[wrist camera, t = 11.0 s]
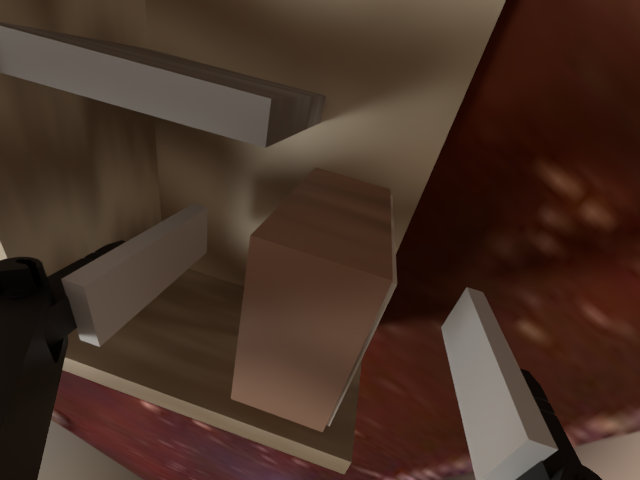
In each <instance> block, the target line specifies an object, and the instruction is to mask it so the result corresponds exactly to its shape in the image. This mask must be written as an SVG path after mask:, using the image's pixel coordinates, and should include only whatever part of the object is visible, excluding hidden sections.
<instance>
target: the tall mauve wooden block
mask: <svg viewBox="0 0 640 480" xmlns="http://www.w3.org/2000/svg"><path fill="white" fill-rule="evenodd" d="M396 286H397V271H396V251H395V230H394V210H393V195H390V189H387V188H384V187H381V186H377V185H374V184H370V183H367V182H364V181H360V180H357V179H353V178H350V177H347V176H343V175H340V174H336V173H333V172H330V171H326V170H323V169H319V168H315V169H314V170H313V171H312V172H311V173H310V174H309V175H308V176H307V177H306V178H305V179H304V180H303V181H302V182H301V183H300V184H299V185H298V186H297V187H296V188H295V189H294V190H293V191H292V193H291V194H290V195H289V196H288V197H287V198H286V199H285V200H284V201H283V202H282V203H281V204H280V205H279V206H278V207H277V208H276V209H275V210H274V211H273V212H272V213H271V214H270V215H269V216H268V217H267V219H266V220H265V221H264V222H263V223H262V224H261V225H260V226H259V227H258V228H257V229H256V230H255V231H254V232H253V233H252V234H251V235H250V242H249V250H248V259H247V267H246V275H245V284H244V292H243V301H242V309H241V317H240V326H239V334H238V342H237V351H236V359H235V368H234V376H233V384H232V393H231V399H233V400H235V401H238V402H241V403H244V404H246V405H249V406H252V407H255V408H257V409H260V410H263V411H266V412H268V413H271V414H274V415H276V416H279V417H282V418H285V419H287V420H290V421H293V422H296V423H298V424H301V425H304V426H307V427H309V428H312V429H315V430H317V431H320V432H323V431H324V428H325V426H326V425H327V426H329V427H330V424H331V422H332V420H333V418H334V416H335V414H336V412H337V410H338V408H339V406H340V403H341V401H342V399H343V397H344V395H345V393H346V391H347V389H348V387H349V385H350V382H351V380H352V378H353V376H354V374H355V372H356V370H357V368H358V366H359V364H360V361H361V359H362V357H363V355H364V353H365V351H366V349H367V347H368V345H369V343H370V340H371V338H372V336H373V334H374V332H375V330H376V328H377V326H378V324H379V322H380V319H381V317H382V315H383V313H384V311H385V309H386V307H387V305H388V303H389V301H390V298H391V296H392V294H393V292H394V290H395V288H396Z"/></svg>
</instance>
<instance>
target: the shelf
mask: <svg viewBox="0 0 640 480" xmlns="http://www.w3.org/2000/svg"><path fill="white" fill-rule="evenodd" d="M505 1H506V0H0V260H3V259H7V258H14V257H32V258H36V259H38V260H40V261H41V262H42V264H43V267H44V270H45V272H46V275H47V277H48V276H50V275H52V274H53V273H55V272H57V271H59V270H61V269H63V268H65V267H66V266H68V265H70V264H72V263H74V262H76V261H77V260H79V259H81V258H84V257H85V256H87V255H89V254H90V253H94V252H95V251H96V250H98V249H100V248H101V247H103V246H105V245H107V244H110V243H114V242H117V241H121V240H123V241H126V242H127V241H129V240H130V239H132V238H134V237H136V236H137V235H139V234H141V233H143V232H144V231H146V230H148V229H150V228H151V227H153V226H155V225H157V224H158V223H160V222H162V221H164V220H165V219H167V218H169V217H171V216H172V215H174V214H176V213H178V212H179V211H181V210H183V209H185V208H186V207H188V206H190V205H192V204H193V203H194V204H198V205H201V206H204V207H208V218H207V253H206V254H204V255H203V256H202V257H201V258H200V259H199V260H198V261H196V262H195V263H194V264H193V265H192V266H191V267H190V268H189V269H187V270H186V271H185V272H184V273H183V274H182V275H181V276H180V277H178V278H177V279H176V280H175V281H174V282H173V283H172V284H170V285H169V286H168V287H167V288H166V289H165V290H164V291H163V292H161V293H160V294H159V295H158V296H157V297H156V298H155V299H154V300H152V301H151V302H150V303H149V304H148V305H147V306H146V307H144V308H143V309H142V310H141V311H140V312H139V313H138V314H137V315H135V316H134V317H133V318H132V319H131V320H130V321H129V322H127V323H126V324H125V325H124V326H123V327H122V328H121V329H120V330H118V331H117V332H116V333H115V334H114V335H113V336H112V337H111V338H109V339H108V340H107V341H106V342H105V343H104V344H103V345H101V346H100V347H98V346H96V345H93V344H90V343H87V342H85V341H82V340H80V338H79V334H78V331H77V328H76V329H75V330H74V331H72V332H71V333H70V334H68V335H67V337H68V347H67V351H66V355H65V360H64V364H63V369H62V370H64V371H67V372H70V373H72V374H75V375H78V376H80V377H83V378H86V379H89V380H91V381H94V382H97V383H99V384H102V385H105V386H107V387H110V388H113V389H115V390H118V391H121V392H124V393H126V394H129V395H132V396H134V397H137V398H140V399H142V400H145V401H148V402H150V403H153V404H156V405H159V406H161V407H164V408H167V409H169V410H172V411H175V412H177V413H180V414H183V415H186V416H188V417H191V418H194V419H196V420H199V421H202V422H204V423H207V424H210V425H212V426H215V427H218V428H221V429H223V430H226V431H229V432H231V433H234V434H237V435H239V436H242V437H245V438H247V439H250V440H253V441H256V442H258V443H261V444H264V445H266V446H269V447H272V448H274V449H277V450H280V451H282V452H285V453H288V454H291V455H293V456H296V457H299V458H301V459H304V460H307V461H309V462H312V463H315V464H317V465H320V466H323V467H326V468H328V469H331V470H334V471H336V472H339V473H342V474H345V472H346V470H347V469H348V467H349V466H350V464H351V462H352V452H353V441H354V431H355V421H356V411H357V401H358V390H359V380H360V370H361V361H360V364H359V366H358V368H357V370H356V372H355V374H354V376H353V378H352V380H351V382H350V385H349V387H348V389H347V391H346V393H345V395H344V397H343V399H342V401H341V403H340V406H339V408H338V410H337V412H336V414H335V416H334V418H333V420H332V422H331V424H330V427H329V426H327V425H326V426H325V428H324V431H323V432H320V431H317V430H315V429H312V428H309V427H307V426H304V425H301V424H298V423H296V422H293V421H290V420H287V419H285V418H282V417H279V416H276V415H274V414H271V413H268V412H266V411H263V410H260V409H257V408H255V407H252V406H249V405H246V404H244V403H241V402H238V401H235V400H233V399H231V393H232V384H233V376H234V368H235V359H236V351H237V342H238V334H239V326H240V317H241V309H242V301H243V292H244V284H245V275H246V267H247V259H248V250H249V242H250V235H251V234H252V233H253V232H254V231H255V230H256V229H257V228H258V227H259V226H260V225H261V224H262V223H263V222H264V221H265V220H266V219H267V217H268V216H269V215H270V214H271V213H272V212H273V211H274V210H275V209H276V208H277V207H278V206H279V205H280V204H281V203H282V202H283V201H284V200H285V199H286V198H287V197H288V196H289V195H290V194H291V193H292V191H293V190H294V189H295V188H296V187H297V186H298V185H299V184H300V183H301V182H302V181H303V180H304V179H305V178H306V177H307V176H308V175H309V174H310V173H311V172H312V171H313V170H314V169H315V168H319V169H323V170H326V171H330V172H333V173H336V174H340V175H343V176H347V177H350V178H353V179H357V180H360V181H364V182H367V183H370V184H374V185H377V186H381V187H384V188H387V189H390V195H393V210H394V230H395V251H396V253H397V251H398V248H399V246H400V244H401V241H402V239H403V237H404V234H405V232H406V230H407V228H408V225H409V223H410V221H411V218H412V216H413V214H414V211H415V209H416V207H417V204H418V202H419V200H420V197H421V195H422V193H423V191H424V188H425V186H426V184H427V181H428V179H429V177H430V174H431V172H432V170H433V167H434V165H435V163H436V160H437V158H438V156H439V154H440V151H441V149H442V147H443V144H444V142H445V140H446V137H447V135H448V133H449V130H450V128H451V126H452V123H453V121H454V119H455V117H456V114H457V112H458V110H459V107H460V105H461V103H462V100H463V98H464V96H465V93H466V91H467V89H468V87H469V84H470V82H471V80H472V77H473V75H474V73H475V70H476V68H477V66H478V63H479V61H480V59H481V56H482V54H483V52H484V50H485V47H486V45H487V43H488V40H489V38H490V36H491V33H492V31H493V29H494V26H495V24H496V22H497V19H498V17H499V15H500V13H501V10H502V8H503V6H504V3H505ZM361 360H362V359H361Z"/></svg>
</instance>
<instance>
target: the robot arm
mask: <svg viewBox="0 0 640 480" xmlns="http://www.w3.org/2000/svg"><path fill="white" fill-rule="evenodd" d="M207 218H208V207H204V206H201V205H198V204H194V203H193V204H192V205H190V206H188V207H186V208H185V209H183V210H181V211H179V212H178V213H176V214H174V215H172V216H171V217H169V218H167V219H165V220H164V221H162V222H160V223H158V224H157V225H155V226H153V227H151V228H150V229H148V230H146V231H144V232H143V233H141V234H139V235H137V236H136V237H134V238H132V239H130V240H129V241H127V242H126V241H123V240H121V241H117V242H114V243H110V244H107V245H105V246H103V247H101V248H100V249H98V250H96V251H95V252H94V253H90V254H89V255H87V256H85V257H84V258H81V259H79V260H77V261H76V262H74V263H72V264H70V265H68V266H66V267H65V268H63V269H61V270H59V271H57V272H55V273H53V274H52V275H50V276H48V277H47V275H46V272H45V270H44V267H43V264H42V262H41V261H40V260H38V259H36V258H32V257H14V258H7V259H3V260H0V480H37V478H38V474H39V469H40V465H41V461H42V456H43V452H44V447H45V443H46V439H47V434H48V430H49V426H50V421H51V417H52V412H53V408H54V404H55V399H56V395H57V391H58V386H59V382H60V377H61V373H62V369H63V364H64V360H65V355H66V351H67V347H68V337H67V335H68V334H70V333H71V332H72V331H74V330H75V329H76V328H77V331H78V334H79V338H80V340H82V341H85V342H87V343H90V344H93V345H96V346H98V347H100V346H101V345H103V344H104V343H105V342H106V341H107V340H108V339H109V338H111V337H112V336H113V335H114V334H115V333H116V332H117V331H118V330H120V329H121V328H122V327H123V326H124V325H125V324H126V323H127V322H129V321H130V320H131V319H132V318H133V317H134V316H135V315H137V314H138V313H139V312H140V311H141V310H142V309H143V308H144V307H146V306H147V305H148V304H149V303H150V302H151V301H152V300H154V299H155V298H156V297H157V296H158V295H159V294H160V293H161V292H163V291H164V290H165V289H166V288H167V287H168V286H169V285H170V284H172V283H173V282H174V281H175V280H176V279H177V278H178V277H180V276H181V275H182V274H183V273H184V272H185V271H186V270H187V269H189V268H190V267H191V266H192V265H193V264H194V263H195V262H196V261H198V260H199V259H200V258H201V257H202V256H203V255H204V254H206V253H207ZM441 329H442V333H443V338H444V342H445V346H446V351H447V355H448V360H449V364H450V368H451V373H452V377H453V382H454V386H455V390H456V395H457V399H458V404H459V408H460V412H461V417H462V421H463V425H464V430H465V434H466V439H467V443H468V447H469V452H470V456H471V461H472V465H473V469H474V474H475V478H476V480H602V479H601V478H600V477H599V476H598V475H597V474H595V473H594V472H593V471H591V470H590V469H589V468H587V467H585V466H583V465H582V464H581V462H580V461H579V458H578V456H577V455H576V453H575V451H574V449H573V447H572V445H571V443H570V441H569V439H568V437H567V435H566V433H565V432H564V430H563V428H562V426H561V424H560V422H559V420H558V418H557V416H555V415H554V413H555V412H554V410H553V409H552V407H551V405H550V403H548V399H547V397H546V395H545V393H544V391H543V389H542V387H541V386H540V384H539V383H538V382H537V381H536V380H535V379H534V377H533V376H532V375H531V374H530V373H529V371H526V370H523V369H520V368H519V366H518V364H517V362H516V360H515V358H514V356H513V354H512V352H511V350H510V347H509V345H508V343H507V341H506V339H505V337H504V335H503V333H502V331H501V329H500V327H499V324H498V322H497V320H496V318H495V316H494V314H493V312H492V310H491V308H490V306H489V304H488V301H487V299H486V297H485V295H484V293H483V292H481V291H478V290H474V289H471V288H468V287H466V289H465V291H464V292H463V294H462V295H461V297H460V299H459V300H458V302H457V303H456V305H455V306H454V308H453V310H452V311H451V313H450V314H449V316H448V318H447V319H446V321H445V322H444V324H443V325H442V327H441Z"/></svg>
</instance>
